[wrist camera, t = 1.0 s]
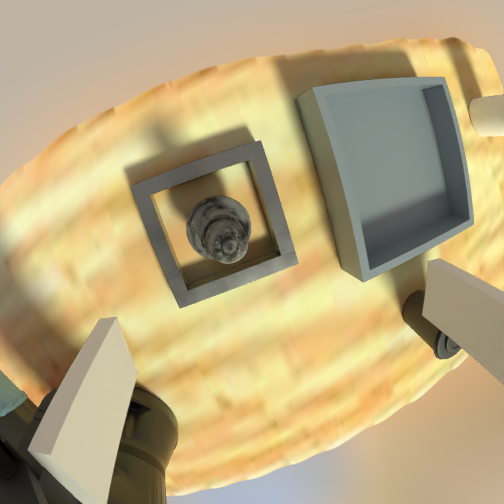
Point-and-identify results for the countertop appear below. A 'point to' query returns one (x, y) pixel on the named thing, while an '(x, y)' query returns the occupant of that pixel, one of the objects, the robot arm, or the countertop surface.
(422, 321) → the coffee cup
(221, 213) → the dark grey tall piece
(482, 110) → the white plastic bottle
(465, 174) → the bin
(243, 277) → the collar
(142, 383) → the countertop surface
